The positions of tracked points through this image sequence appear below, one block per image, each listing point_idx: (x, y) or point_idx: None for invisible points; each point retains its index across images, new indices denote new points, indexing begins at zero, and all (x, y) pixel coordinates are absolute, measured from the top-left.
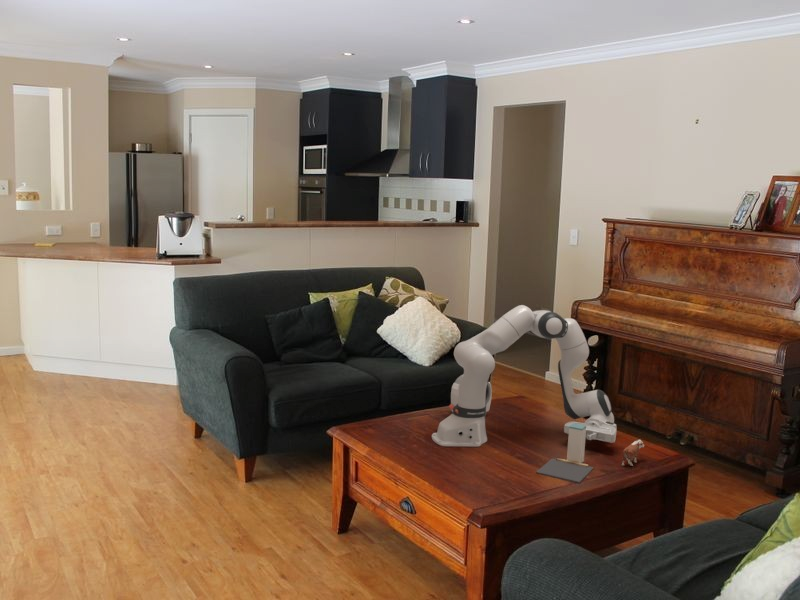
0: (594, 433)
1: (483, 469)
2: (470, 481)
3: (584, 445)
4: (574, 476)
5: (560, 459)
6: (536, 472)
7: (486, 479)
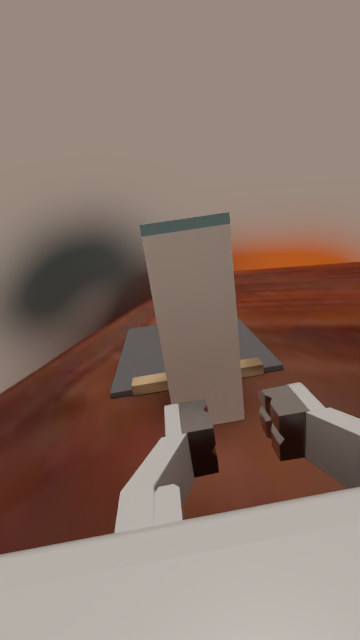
0: (148, 486)
1: (313, 288)
2: (277, 278)
3: (161, 348)
4: (148, 335)
5: (243, 361)
6: None
7: (269, 284)
